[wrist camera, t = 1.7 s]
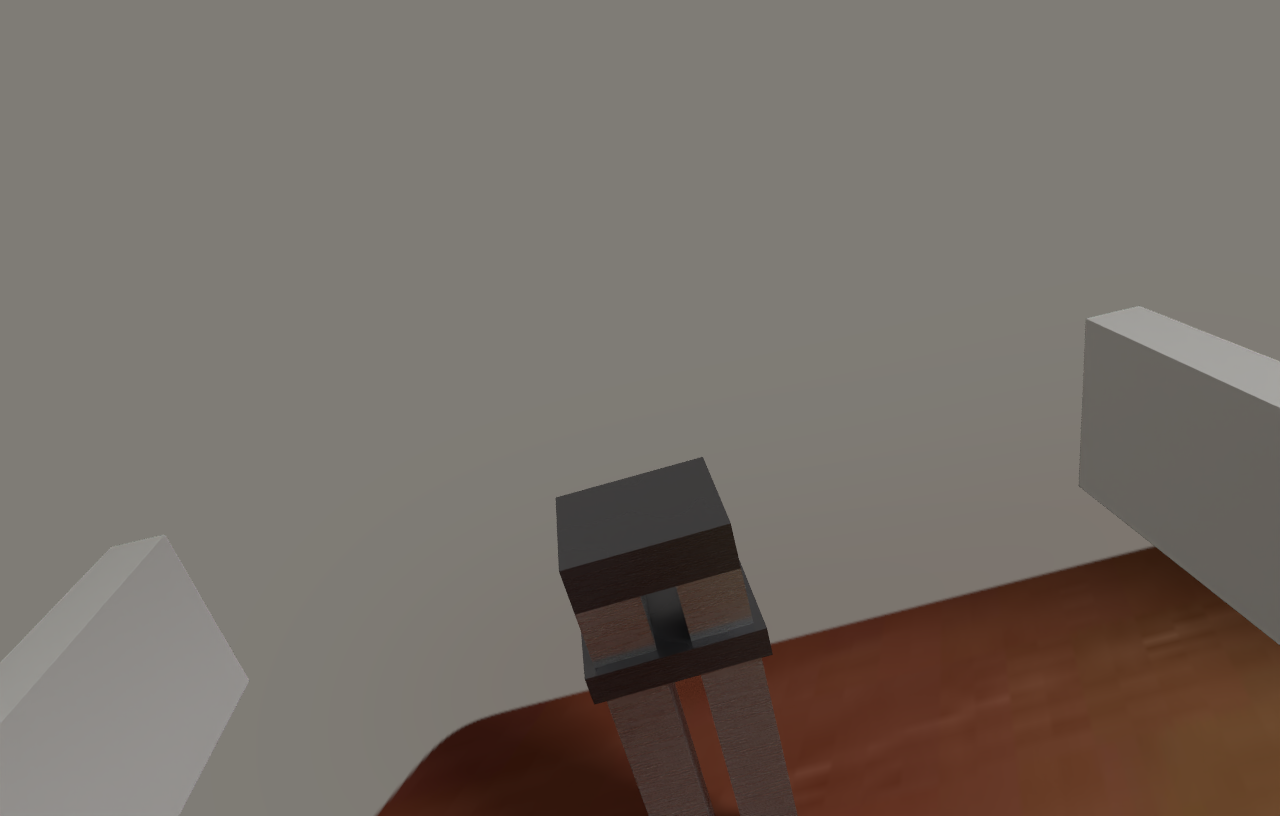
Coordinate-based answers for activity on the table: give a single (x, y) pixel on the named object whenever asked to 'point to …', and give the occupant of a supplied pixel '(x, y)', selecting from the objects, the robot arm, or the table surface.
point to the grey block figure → (672, 635)
